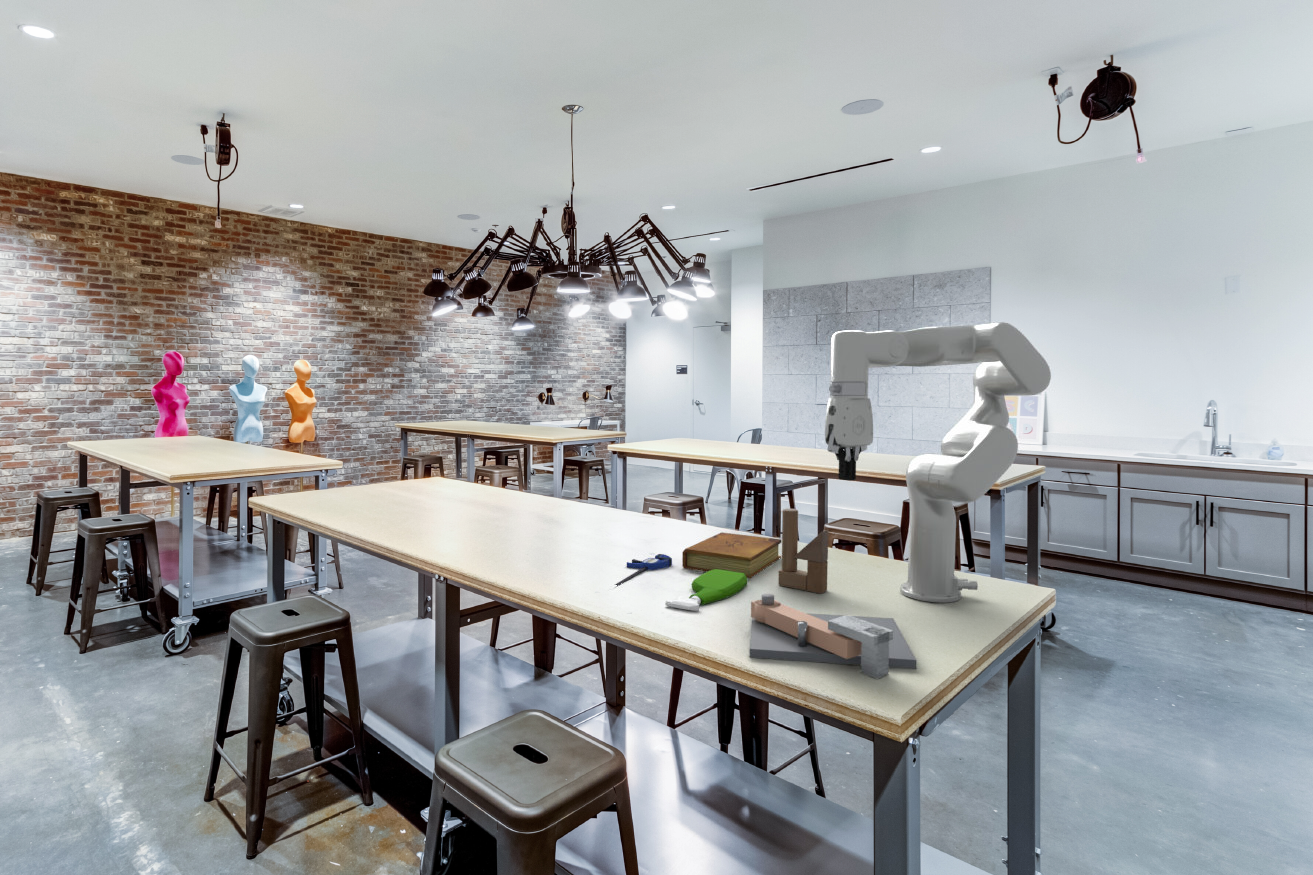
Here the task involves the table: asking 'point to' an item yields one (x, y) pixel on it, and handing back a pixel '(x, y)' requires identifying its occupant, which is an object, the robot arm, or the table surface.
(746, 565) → the diary
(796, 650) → the base board
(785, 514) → the wooden block
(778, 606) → the link
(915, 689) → the table surface
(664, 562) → the bar clamp
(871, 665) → the keeper
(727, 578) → the spray bottle
